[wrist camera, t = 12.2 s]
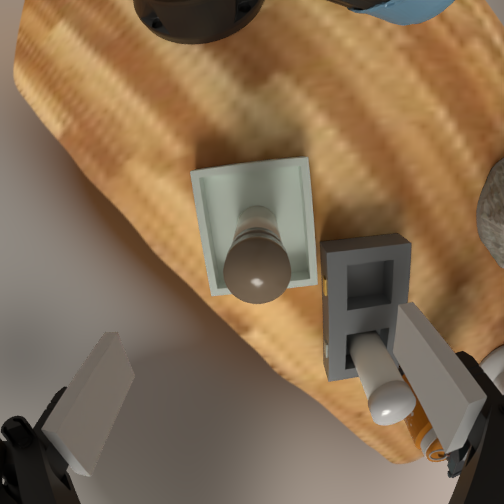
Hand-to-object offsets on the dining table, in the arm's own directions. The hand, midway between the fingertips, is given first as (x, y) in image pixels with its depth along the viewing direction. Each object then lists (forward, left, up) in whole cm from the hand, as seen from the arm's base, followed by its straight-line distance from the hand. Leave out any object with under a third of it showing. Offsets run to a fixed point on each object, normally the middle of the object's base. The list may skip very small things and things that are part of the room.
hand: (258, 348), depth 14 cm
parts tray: (0, 0, -24) cm, 24 cm away
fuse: (+17, +12, -23) cm, 31 cm away
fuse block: (+12, +12, -24) cm, 29 cm away
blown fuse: (0, 0, -23) cm, 23 cm away
